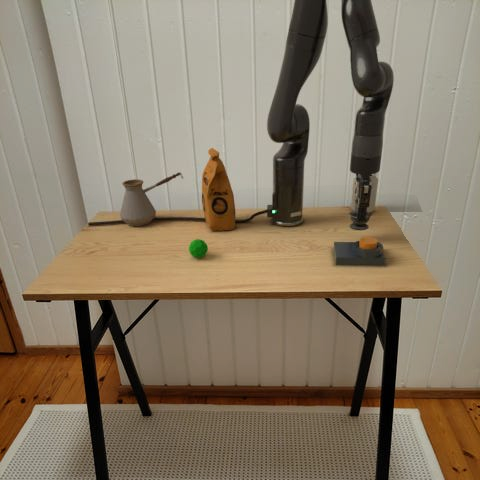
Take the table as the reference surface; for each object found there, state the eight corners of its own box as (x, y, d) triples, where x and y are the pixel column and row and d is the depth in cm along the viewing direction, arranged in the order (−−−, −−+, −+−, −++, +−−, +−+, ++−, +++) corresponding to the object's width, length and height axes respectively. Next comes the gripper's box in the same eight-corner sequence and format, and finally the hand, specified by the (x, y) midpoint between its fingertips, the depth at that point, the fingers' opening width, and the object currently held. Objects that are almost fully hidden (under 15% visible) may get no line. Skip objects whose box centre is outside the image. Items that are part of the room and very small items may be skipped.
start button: (359, 250, 113) (360, 243, 112) (358, 243, 117) (358, 237, 116) (377, 250, 113) (378, 244, 112) (375, 243, 117) (376, 237, 116)
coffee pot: (118, 229, 142) (109, 181, 134) (123, 217, 152) (115, 171, 144) (187, 225, 143) (182, 177, 135) (187, 213, 153) (183, 167, 145)
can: (374, 215, 144) (379, 176, 138) (350, 214, 145) (354, 176, 139) (373, 207, 150) (378, 170, 144) (350, 206, 152) (354, 170, 145)
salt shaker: (371, 224, 127) (377, 181, 120) (367, 231, 122) (372, 187, 116) (350, 222, 129) (354, 179, 123) (345, 229, 125) (349, 185, 118)
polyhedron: (211, 258, 121) (209, 241, 119) (193, 262, 120) (192, 245, 117) (203, 251, 125) (202, 235, 123) (187, 255, 124) (185, 239, 121)
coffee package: (205, 233, 137) (198, 157, 125) (203, 219, 147) (197, 148, 135) (237, 230, 137) (234, 155, 126) (233, 216, 148) (230, 146, 136)
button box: (335, 265, 115) (336, 251, 113) (333, 249, 123) (334, 235, 121) (384, 266, 113) (386, 251, 111) (378, 249, 122) (380, 235, 120)
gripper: (348, 146, 122) (344, 208, 131) (353, 159, 110) (348, 226, 118) (377, 146, 121) (370, 208, 130) (385, 159, 109) (377, 226, 118)
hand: (359, 216), depth 124 cm, fingers closed on salt shaker, 6 cm apart
